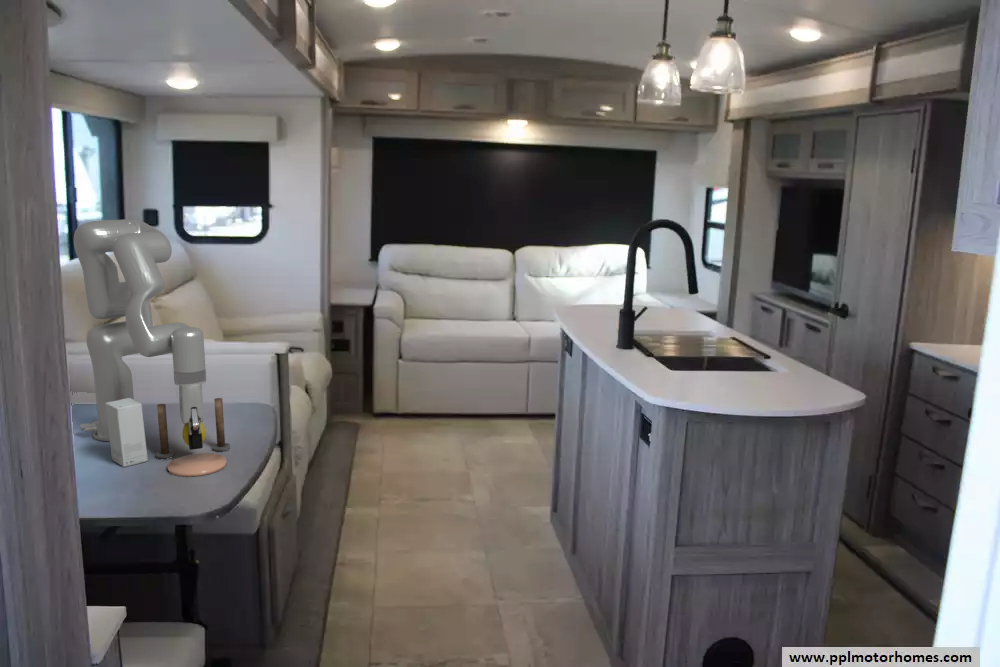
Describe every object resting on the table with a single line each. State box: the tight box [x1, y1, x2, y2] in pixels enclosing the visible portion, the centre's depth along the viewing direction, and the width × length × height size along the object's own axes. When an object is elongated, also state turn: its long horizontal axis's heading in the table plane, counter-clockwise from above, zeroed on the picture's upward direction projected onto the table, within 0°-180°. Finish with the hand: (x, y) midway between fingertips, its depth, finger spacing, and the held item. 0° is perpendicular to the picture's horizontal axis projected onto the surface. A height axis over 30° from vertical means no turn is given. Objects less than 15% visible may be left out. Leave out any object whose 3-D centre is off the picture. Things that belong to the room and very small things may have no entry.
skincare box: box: [105, 398, 149, 468], centre depth 209 cm, size 8×7×16 cm
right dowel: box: [212, 397, 231, 453], centre depth 219 cm, size 4×4×14 cm
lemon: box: [182, 420, 207, 446], centre depth 210 cm, size 6×6×8 cm
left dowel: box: [155, 403, 175, 460], centre depth 213 cm, size 4×4×14 cm
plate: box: [167, 452, 228, 478], centre depth 207 cm, size 14×14×1 cm
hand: (194, 444), depth 210 cm, fingers closed on lemon, 5 cm apart
